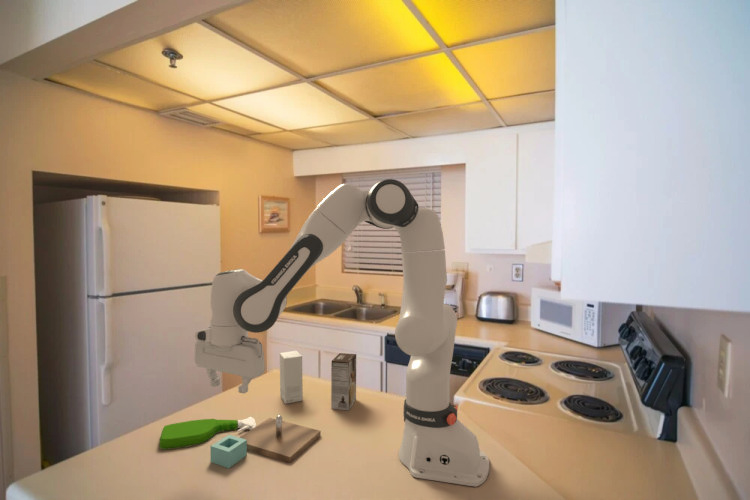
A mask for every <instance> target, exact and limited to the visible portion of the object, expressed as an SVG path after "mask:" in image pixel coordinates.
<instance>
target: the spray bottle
mask: <svg viewBox="0 0 750 500" xmlns="http://www.w3.org/2000/svg"><path fill="white" fill-rule="evenodd" d="M256 426H257V423H256V420H255V418H254V417H252V416H249V417H247V418H245V419H238V420H237V419H216V418H205V419H195V420H186V421H182V422H176V423H171V424H166V425H164V426H163V428H162V430H161V434H160V437H159V448H160V449H161V450H171V449H173V450H174V449H179V448H185V447H191V446H196V445H200V444H203V443H205V442H207V441H209V440H211V438H212V437H214V436H215V435H216V434H217V433H221V432H226V431H227V432H228V431H231V430H232V431H236V430H237V433H239V432H242V431H245V430H249V431H250V430H252V429H253V428H255V427H256Z"/></svg>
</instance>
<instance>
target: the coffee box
mask: <svg viewBox="0 0 750 500" xmlns="http://www.w3.org/2000/svg"><path fill="white" fill-rule="evenodd" d="M330 376H331V377H330V378H331V384H330V387H331V389H330V390H331V395H330V396H331V399H330V400H331V401H330V405H331V406H330V408H331V409H332V410H341V411H350V410H351V408H352V406H353V404H354V403H355V401H356V399H357V354H356V353H342V352H341V353H340V352H339V353H338V354H337V355H336V356H335V357H334V358H333V359H332V360H331V375H330Z"/></svg>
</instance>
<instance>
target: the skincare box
mask: <svg viewBox="0 0 750 500" xmlns="http://www.w3.org/2000/svg"><path fill="white" fill-rule="evenodd" d="M279 381H280V382H279V386H280V391H279V394H280V395H279V396H280V398H281V399H282V401H283V402H284V404H285V405H286V404H292V403H297V402H302V401H303V400H304V396H303V395H304V392H303V391H304V390H303V389H304V388H303V356H302V354H300V352H298V351H297V350H292V351H283V352H279Z"/></svg>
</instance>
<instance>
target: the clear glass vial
mask: <svg viewBox="0 0 750 500" xmlns="http://www.w3.org/2000/svg"><path fill="white" fill-rule="evenodd" d="M275 419H276V436H277V437H280V436H282V421H283V417H282V415H277V416H276V417H275Z"/></svg>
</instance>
